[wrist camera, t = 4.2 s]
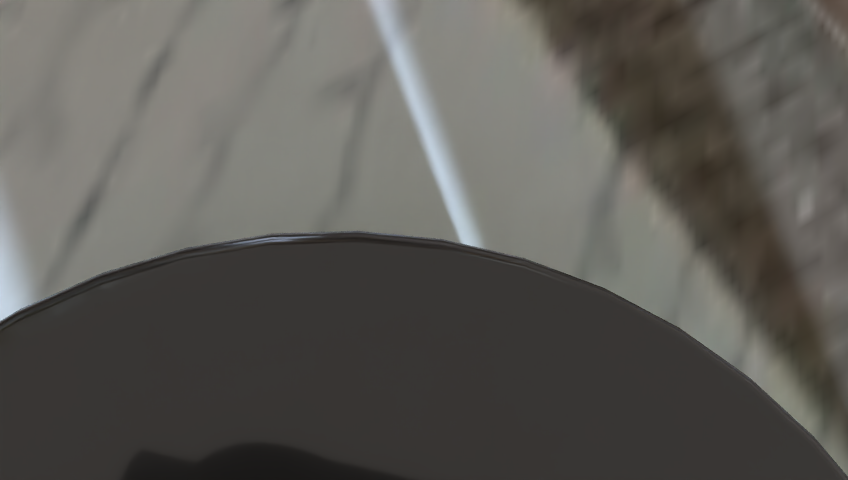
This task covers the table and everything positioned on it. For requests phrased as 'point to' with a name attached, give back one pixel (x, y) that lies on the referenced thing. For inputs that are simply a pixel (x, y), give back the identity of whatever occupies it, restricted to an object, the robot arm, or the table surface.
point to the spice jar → (373, 374)
